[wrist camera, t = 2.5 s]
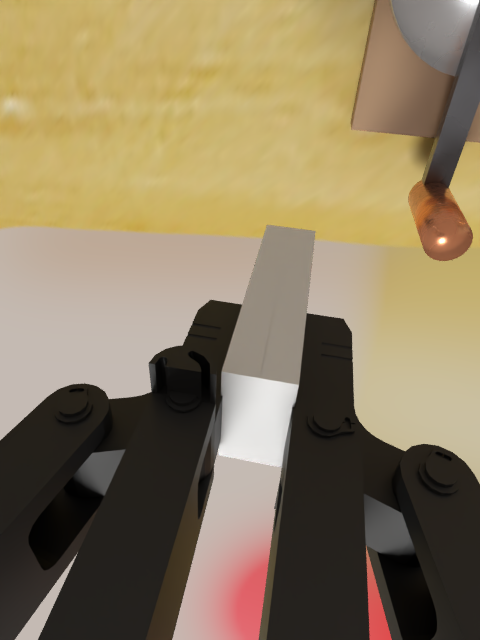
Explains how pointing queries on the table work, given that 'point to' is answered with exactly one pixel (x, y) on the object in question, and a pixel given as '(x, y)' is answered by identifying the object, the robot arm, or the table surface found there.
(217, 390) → the robot arm
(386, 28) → the mount board
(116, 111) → the table surface
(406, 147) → the table surface
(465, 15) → the handwheel
